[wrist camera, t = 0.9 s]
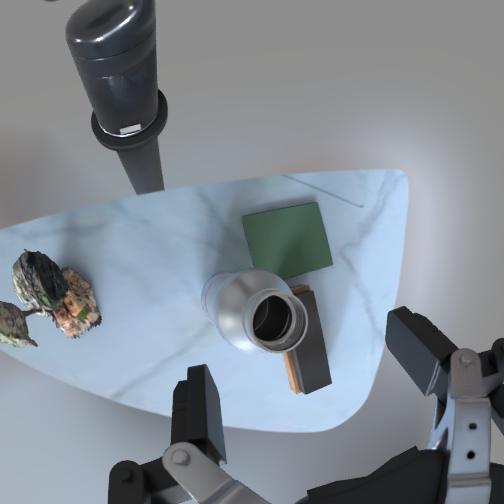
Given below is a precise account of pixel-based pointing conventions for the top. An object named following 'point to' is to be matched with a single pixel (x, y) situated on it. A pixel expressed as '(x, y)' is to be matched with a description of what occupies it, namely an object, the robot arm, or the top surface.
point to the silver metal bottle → (254, 311)
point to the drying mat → (288, 240)
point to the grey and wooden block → (308, 350)
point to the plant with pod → (47, 299)
